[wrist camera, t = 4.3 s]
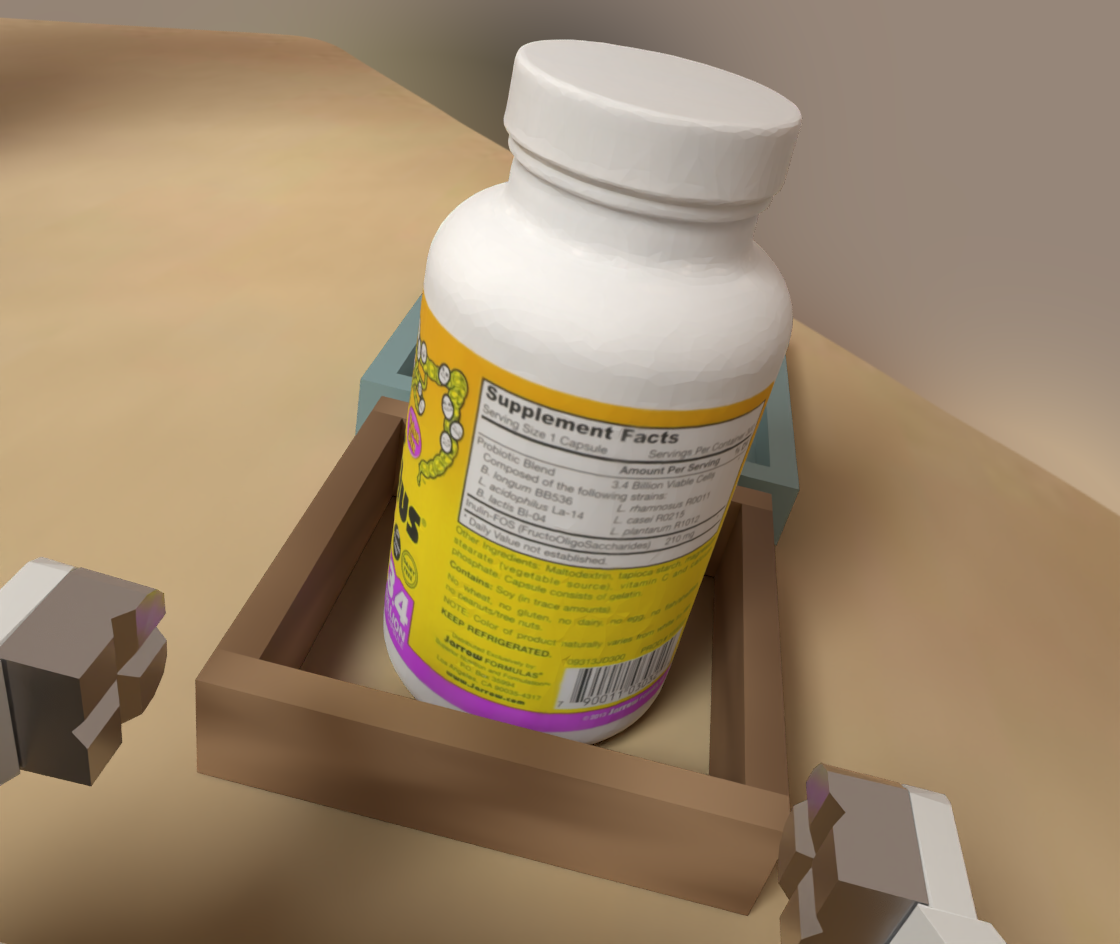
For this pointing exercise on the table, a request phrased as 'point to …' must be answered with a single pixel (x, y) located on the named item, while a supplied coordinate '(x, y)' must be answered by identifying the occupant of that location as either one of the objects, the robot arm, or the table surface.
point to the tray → (762, 470)
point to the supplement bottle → (586, 388)
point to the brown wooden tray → (496, 747)
